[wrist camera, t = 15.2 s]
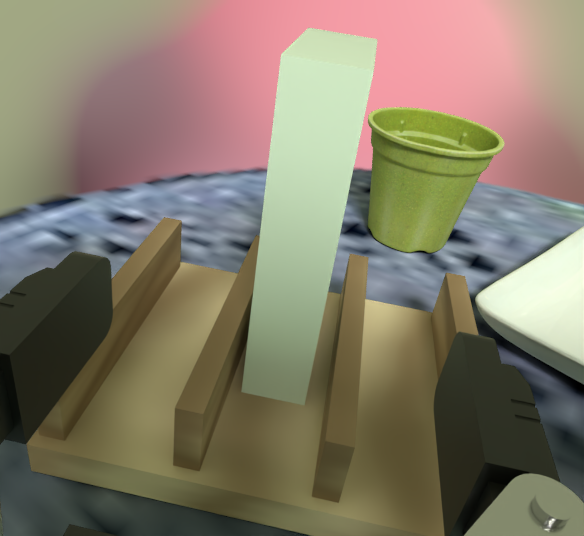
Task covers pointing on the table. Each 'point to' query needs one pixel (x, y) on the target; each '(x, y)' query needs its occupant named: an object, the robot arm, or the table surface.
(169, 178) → the table surface
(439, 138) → the plant pot
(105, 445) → the drying rack
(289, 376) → the pale green block
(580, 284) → the salad plate
